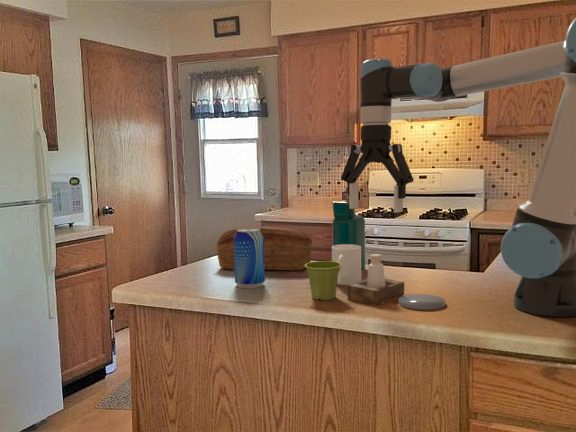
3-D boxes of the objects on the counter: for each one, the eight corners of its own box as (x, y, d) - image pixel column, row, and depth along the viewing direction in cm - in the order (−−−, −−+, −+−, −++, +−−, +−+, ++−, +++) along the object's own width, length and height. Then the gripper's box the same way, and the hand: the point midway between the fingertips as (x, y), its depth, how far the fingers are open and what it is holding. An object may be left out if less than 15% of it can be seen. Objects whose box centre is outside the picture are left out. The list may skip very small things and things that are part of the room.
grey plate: (453, 303, 134) (453, 299, 133) (429, 313, 126) (429, 308, 126) (414, 295, 141) (414, 291, 141) (389, 304, 133) (389, 300, 133)
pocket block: (404, 295, 142) (404, 282, 141) (376, 305, 133) (376, 291, 133) (375, 289, 148) (375, 276, 147) (347, 298, 139) (347, 285, 139)
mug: (354, 289, 148) (353, 252, 147) (324, 287, 151) (324, 250, 150) (364, 279, 159) (364, 244, 158) (336, 278, 162) (336, 243, 161)
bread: (310, 273, 170) (309, 230, 168) (214, 271, 175) (212, 229, 173) (314, 265, 182) (314, 224, 180) (224, 263, 187) (223, 224, 185)
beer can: (271, 284, 155) (269, 229, 153) (249, 290, 149) (247, 232, 147) (250, 280, 161) (249, 226, 159) (229, 286, 155) (227, 230, 153)
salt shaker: (361, 297, 140) (361, 255, 139) (373, 293, 144) (373, 251, 143) (379, 301, 137) (379, 257, 135) (390, 296, 141) (391, 254, 139)
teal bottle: (344, 266, 178) (343, 198, 176) (367, 268, 174) (367, 199, 171) (328, 271, 171) (327, 201, 168) (352, 274, 166) (351, 202, 163)
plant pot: (315, 304, 135) (314, 269, 134) (299, 295, 144) (298, 262, 143) (348, 299, 139) (348, 265, 138) (331, 291, 147) (330, 259, 146)
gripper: (428, 122, 129) (427, 212, 132) (345, 126, 147) (345, 205, 149) (411, 122, 124) (410, 215, 127) (327, 126, 141) (327, 208, 144)
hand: (375, 210), depth 138 cm, fingers open, 13 cm apart
